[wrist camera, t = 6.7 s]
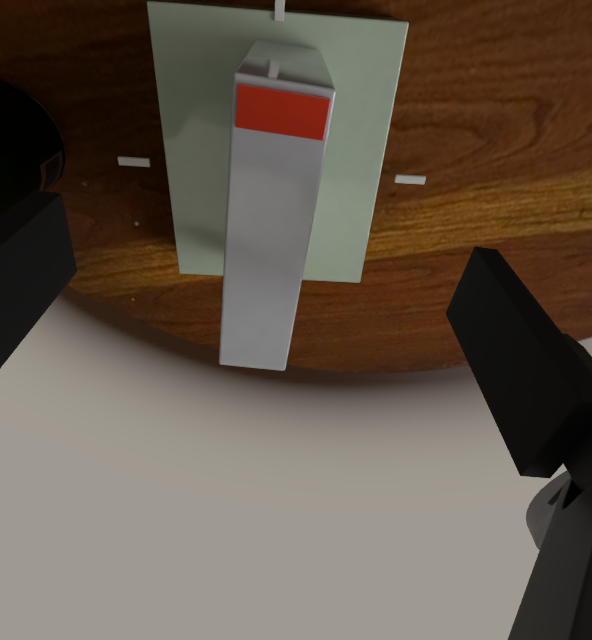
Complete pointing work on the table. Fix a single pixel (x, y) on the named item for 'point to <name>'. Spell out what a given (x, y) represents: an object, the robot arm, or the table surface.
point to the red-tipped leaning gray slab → (271, 197)
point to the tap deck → (215, 122)
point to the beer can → (26, 147)
